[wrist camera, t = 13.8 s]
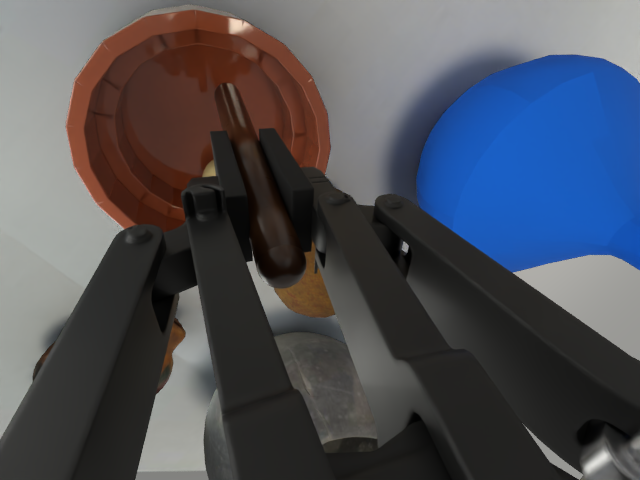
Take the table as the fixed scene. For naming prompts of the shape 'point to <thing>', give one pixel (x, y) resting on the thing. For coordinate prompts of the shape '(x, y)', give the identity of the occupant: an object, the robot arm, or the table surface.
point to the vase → (540, 163)
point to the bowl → (309, 400)
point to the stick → (261, 197)
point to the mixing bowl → (181, 108)
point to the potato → (308, 291)
